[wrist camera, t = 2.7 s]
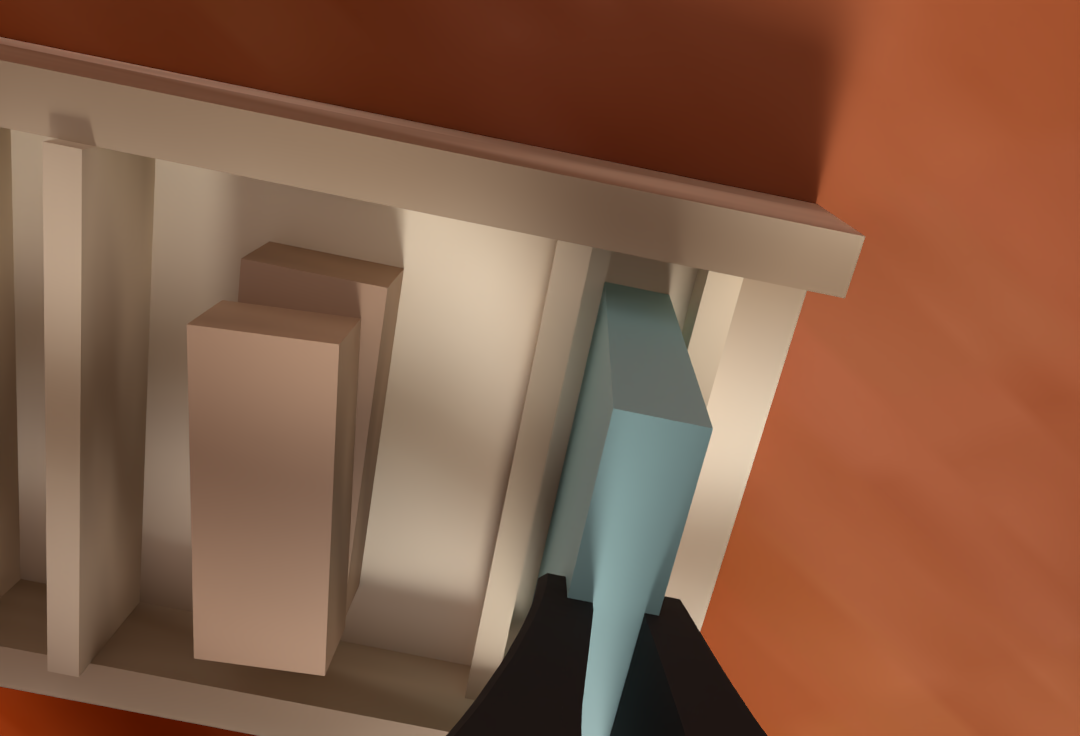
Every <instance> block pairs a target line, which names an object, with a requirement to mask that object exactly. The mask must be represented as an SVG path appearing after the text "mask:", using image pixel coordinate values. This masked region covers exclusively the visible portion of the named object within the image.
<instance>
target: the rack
mask: <svg viewBox="0 0 1080 736" xmlns="http://www.w3.org/2000/svg"><path fill="white" fill-rule="evenodd" d="M864 239H865V236H864V235H862V234H861V233H859V232H858V231H856V230H855V229H853V228H852V227H850V226H849V225H847V224H846V223H844V222H843V221H841V220H840V219H838V218H837V217H835V216H834V215H833V214H831V213H830V212H828V211H827V210H825V209H824V208H822V207H821V206H819V205H818V204H815V203H810V202H805V201H800V200H795V199H790V198H785V197H781V196H776V195H771V194H766V193H761V192H756V191H751V190H746V189H741V188H737V187H732V186H727V185H722V184H717V183H712V182H707V181H702V180H697V179H693V178H688V177H683V176H678V175H673V174H668V173H663V172H658V171H653V170H649V169H644V168H639V167H634V166H629V165H624V164H619V163H614V162H609V161H605V160H600V159H595V158H590V157H585V156H580V155H575V154H570V153H565V152H561V151H556V150H551V149H546V148H541V147H536V146H531V145H526V144H521V143H517V142H512V141H507V140H502V139H497V138H492V137H487V136H482V135H477V134H473V133H468V132H463V131H458V130H453V129H448V128H443V127H438V126H433V125H429V124H424V123H419V122H414V121H409V120H404V119H399V118H394V117H389V116H385V115H380V114H375V113H370V112H365V111H360V110H355V109H350V108H345V107H341V106H336V105H331V104H326V103H321V102H316V101H311V100H306V99H301V98H297V97H292V96H287V95H282V94H277V93H272V92H267V91H262V90H257V89H253V88H248V87H243V86H238V85H233V84H228V83H223V82H218V81H213V80H209V79H204V78H199V77H194V76H189V75H184V74H179V73H174V72H169V71H165V70H160V69H155V68H150V67H145V66H140V65H135V64H130V63H125V62H121V61H116V60H111V59H106V58H101V57H96V56H91V55H86V54H81V53H77V52H72V51H67V50H62V49H57V48H52V47H47V46H42V45H37V44H33V43H28V42H23V41H18V40H13V39H8V38H3V37H0V687H6V688H11V689H16V690H21V691H27V692H32V693H37V694H42V695H48V696H53V697H58V698H63V699H69V700H74V701H79V702H84V703H90V704H95V705H100V706H105V707H111V708H116V709H121V710H126V711H132V712H137V713H142V714H147V715H153V716H158V717H163V718H168V719H174V720H179V721H184V722H189V723H195V724H200V725H205V726H210V727H216V728H221V729H226V730H231V731H236V732H242V733H247V734H252V735H257V736H446V735H447V734H448V733H449V732H450V730H451V729H452V728H453V727H454V726H455V725H456V724H457V722H458V721H459V720H460V719H461V717H462V716H463V715H464V714H465V712H466V711H467V710H468V709H469V707H470V706H471V705H472V703H473V702H474V701H475V700H476V698H477V697H478V695H479V694H480V693H481V691H482V690H483V688H484V687H485V685H486V684H487V682H488V681H489V680H490V678H491V677H492V675H493V674H494V672H495V671H496V669H497V668H498V667H499V665H500V664H501V662H502V660H503V659H504V657H505V656H506V654H507V652H508V650H509V649H510V647H511V645H512V643H513V641H514V640H515V638H516V636H517V634H518V633H519V631H520V629H521V627H522V625H523V623H524V621H525V619H526V617H527V615H528V612H529V610H530V608H531V605H532V601H533V596H534V592H535V587H536V583H537V579H538V574H539V570H540V565H541V561H542V557H543V552H544V548H545V543H546V539H547V534H548V530H549V526H550V521H551V517H552V512H553V508H554V504H555V499H556V495H557V490H558V486H559V481H560V477H561V473H562V468H563V464H564V459H565V455H566V451H567V446H568V442H569V437H570V433H571V429H572V424H573V420H574V415H575V411H576V406H577V402H578V398H579V393H580V389H581V384H582V380H583V376H584V371H585V367H586V362H587V358H588V354H589V349H590V345H591V340H592V336H593V331H594V327H595V323H596V318H597V314H598V309H599V305H600V301H601V296H602V292H603V287H604V283H605V282H609V283H614V284H619V285H624V286H629V287H634V288H638V289H643V290H648V291H653V292H658V293H663V294H668V295H669V296H670V299H671V302H672V305H673V308H674V311H675V314H676V317H677V320H678V323H679V326H680V329H681V332H682V335H683V338H684V341H685V344H686V347H687V351H688V354H689V357H690V360H691V363H692V366H693V369H694V372H695V375H696V378H697V381H698V384H699V387H700V390H701V393H702V396H703V399H704V402H705V405H706V408H707V411H708V415H709V418H710V421H711V424H712V427H713V431H712V434H711V437H710V441H709V444H708V448H707V451H706V455H705V458H704V462H703V465H702V468H701V472H700V475H699V479H698V482H697V486H696V489H695V493H694V496H693V500H692V503H691V506H690V510H689V513H688V517H687V520H686V524H685V527H684V531H683V534H682V538H681V541H680V544H679V548H678V551H677V555H676V558H675V562H674V565H673V569H672V572H671V576H670V579H669V582H668V586H667V589H666V593H665V596H666V597H671V598H676V599H680V600H681V601H682V603H683V605H684V606H685V608H686V609H687V611H688V613H689V614H690V616H691V618H692V619H693V621H694V623H695V624H696V626H697V628H698V629H699V631H700V630H701V627H702V624H703V621H704V618H705V614H706V611H707V608H708V605H709V602H710V599H711V595H712V592H713V589H714V586H715V583H716V579H717V576H718V573H719V570H720V567H721V563H722V560H723V557H724V554H725V551H726V547H727V544H728V541H729V538H730V535H731V531H732V528H733V525H734V522H735V519H736V515H737V512H738V509H739V506H740V503H741V499H742V496H743V493H744V490H745V487H746V483H747V480H748V477H749V474H750V471H751V467H752V464H753V461H754V458H755V455H756V451H757V448H758V445H759V442H760V439H761V435H762V432H763V429H764V426H765V423H766V419H767V416H768V413H769V410H770V407H771V403H772V400H773V397H774V394H775V391H776V388H777V384H778V381H779V378H780V375H781V372H782V368H783V365H784V362H785V359H786V356H787V352H788V349H789V346H790V343H791V340H792V336H793V333H794V330H795V327H796V324H797V320H798V317H799V314H800V311H801V308H802V304H803V301H804V298H805V295H806V292H807V291H811V292H816V293H821V294H826V295H831V296H836V297H841V298H845V297H846V294H847V291H848V287H849V284H850V281H851V278H852V275H853V272H854V269H855V266H856V263H857V260H858V257H859V254H860V251H861V248H862V245H863V242H864ZM269 241H271V242H276V243H281V244H286V245H291V246H296V247H301V248H306V249H311V250H315V251H320V252H325V253H330V254H335V255H340V256H345V257H350V258H355V259H360V260H365V261H370V262H375V263H380V264H385V265H390V266H395V267H400V268H404V272H403V279H402V286H401V293H400V300H399V308H398V315H397V322H396V329H395V336H394V343H393V350H392V357H391V364H390V371H389V378H388V385H387V392H386V400H385V407H384V414H383V421H382V428H381V435H380V442H379V449H378V456H377V463H376V470H375V477H374V484H373V492H372V499H371V506H370V513H369V520H368V527H367V534H366V541H365V548H364V555H363V562H362V569H361V576H360V584H359V587H358V590H357V592H356V594H355V597H354V599H353V601H352V604H351V606H350V608H349V611H348V613H347V615H346V620H345V629H344V632H343V634H342V636H341V639H340V641H339V644H338V646H337V648H336V651H335V653H334V656H333V658H332V660H331V663H330V665H329V667H328V670H327V672H326V675H325V676H320V675H313V674H306V673H298V672H291V671H283V670H276V669H269V668H261V667H254V666H246V665H239V664H231V663H224V662H217V661H209V660H202V659H194V638H193V592H192V547H191V501H190V456H189V410H188V364H187V324H188V323H189V322H191V321H192V320H194V319H195V318H197V317H198V316H199V315H201V314H202V313H204V312H205V311H207V310H208V309H210V308H211V307H213V306H214V305H216V304H217V303H218V302H220V301H221V300H226V301H234V302H238V292H239V279H240V265H241V258H243V257H244V256H246V255H248V254H249V253H251V252H253V251H254V250H256V249H258V248H259V247H261V246H263V245H264V244H266V243H268V242H269Z"/></svg>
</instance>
